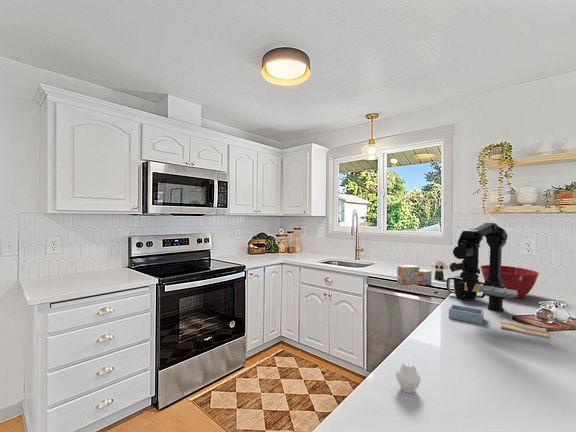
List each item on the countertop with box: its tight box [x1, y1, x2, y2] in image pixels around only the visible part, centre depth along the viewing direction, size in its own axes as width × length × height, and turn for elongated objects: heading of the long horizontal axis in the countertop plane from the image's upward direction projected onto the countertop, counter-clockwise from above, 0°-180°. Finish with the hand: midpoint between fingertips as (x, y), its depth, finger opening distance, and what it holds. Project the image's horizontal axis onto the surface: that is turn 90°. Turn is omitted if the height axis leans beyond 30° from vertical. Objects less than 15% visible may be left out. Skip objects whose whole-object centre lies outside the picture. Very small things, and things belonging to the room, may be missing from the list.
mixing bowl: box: [479, 264, 540, 299], centre depth 179 cm, size 28×28×15 cm
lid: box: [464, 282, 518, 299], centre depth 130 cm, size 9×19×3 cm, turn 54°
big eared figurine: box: [430, 260, 449, 280], centre depth 218 cm, size 11×7×13 cm, turn 59°
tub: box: [448, 304, 485, 325], centre depth 135 cm, size 9×13×4 cm
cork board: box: [500, 319, 550, 339], centre depth 124 cm, size 11×15×1 cm
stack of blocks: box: [396, 264, 433, 286], centre depth 201 cm, size 21×6×12 cm, turn 98°
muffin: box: [395, 362, 422, 394], centre depth 79 cm, size 6×6×7 cm
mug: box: [446, 274, 486, 301], centre depth 168 cm, size 16×16×12 cm
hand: (470, 291), depth 135 cm, fingers closed on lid, 3 cm apart
